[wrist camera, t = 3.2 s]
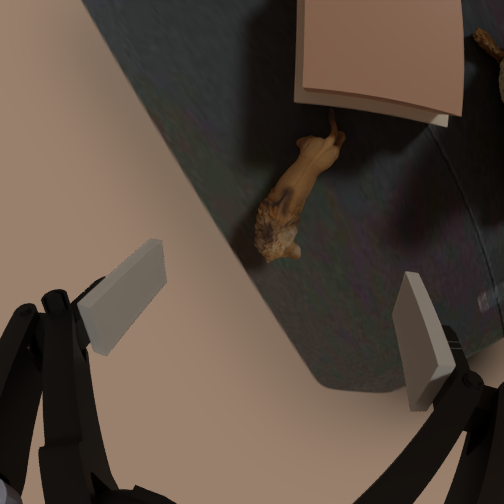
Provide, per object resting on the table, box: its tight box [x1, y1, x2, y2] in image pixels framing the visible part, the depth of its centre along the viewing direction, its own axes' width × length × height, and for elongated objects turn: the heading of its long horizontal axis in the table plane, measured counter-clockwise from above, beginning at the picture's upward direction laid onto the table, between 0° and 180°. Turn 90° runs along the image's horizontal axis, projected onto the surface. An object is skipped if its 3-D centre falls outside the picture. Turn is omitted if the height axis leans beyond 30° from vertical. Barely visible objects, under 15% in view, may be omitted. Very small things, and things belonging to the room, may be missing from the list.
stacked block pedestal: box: [294, 0, 464, 127], centre depth 19 cm, size 14×18×10 cm
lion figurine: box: [254, 108, 345, 263], centre depth 27 cm, size 15×5×9 cm, turn 161°
